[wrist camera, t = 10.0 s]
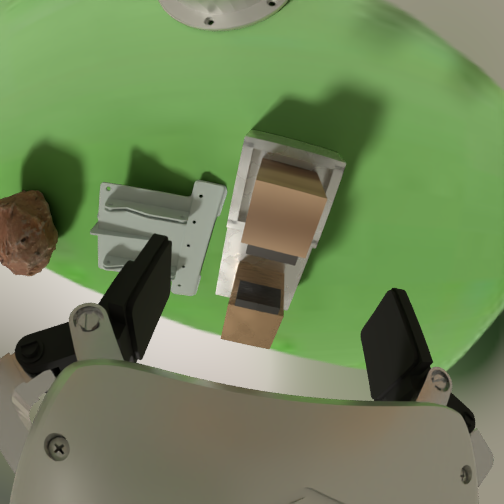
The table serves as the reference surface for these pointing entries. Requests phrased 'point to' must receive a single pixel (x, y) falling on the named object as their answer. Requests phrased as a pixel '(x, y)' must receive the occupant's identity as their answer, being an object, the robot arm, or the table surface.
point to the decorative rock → (26, 233)
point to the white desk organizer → (260, 269)
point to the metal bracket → (158, 227)
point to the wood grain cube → (283, 212)
